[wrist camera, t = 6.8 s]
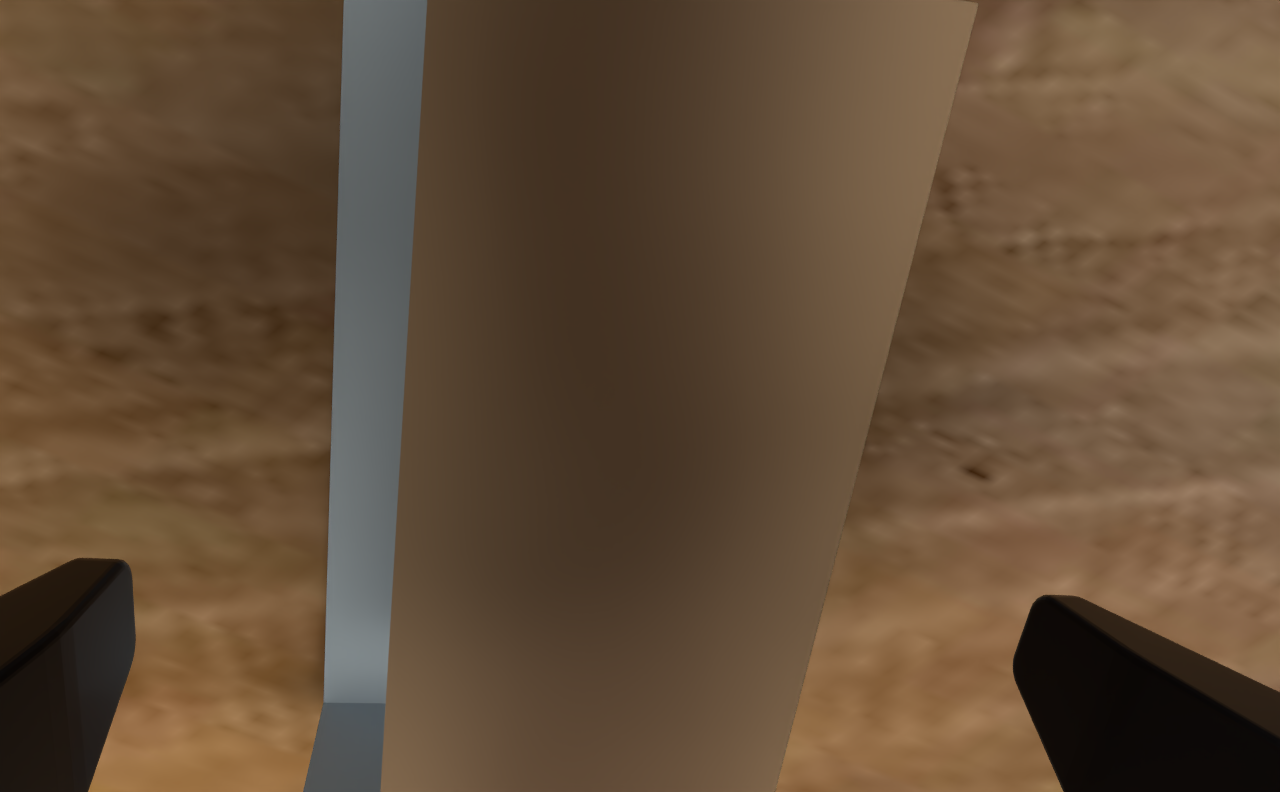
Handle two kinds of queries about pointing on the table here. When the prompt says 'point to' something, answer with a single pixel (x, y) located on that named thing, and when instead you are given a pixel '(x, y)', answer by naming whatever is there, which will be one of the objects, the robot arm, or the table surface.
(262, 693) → the table surface
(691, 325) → the shelf block
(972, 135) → the table surface
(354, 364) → the peg rack
